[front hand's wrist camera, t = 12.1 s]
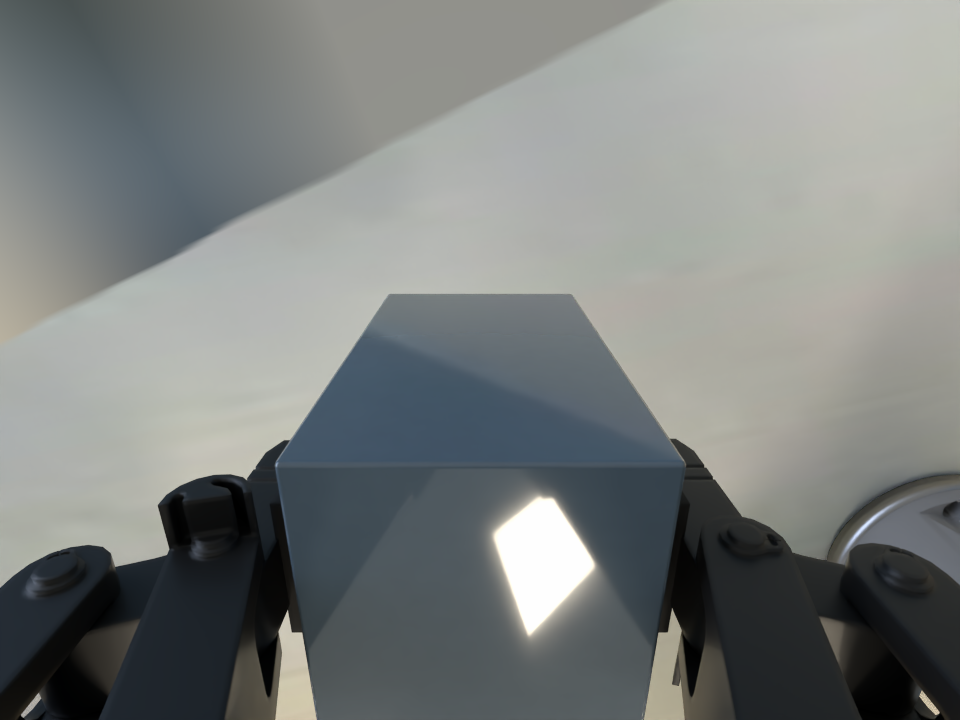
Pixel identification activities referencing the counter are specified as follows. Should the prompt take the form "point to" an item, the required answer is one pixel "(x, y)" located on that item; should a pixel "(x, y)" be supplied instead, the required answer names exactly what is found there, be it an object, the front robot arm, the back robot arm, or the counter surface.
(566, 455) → the brick
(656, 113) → the counter surface
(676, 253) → the counter surface
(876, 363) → the counter surface
